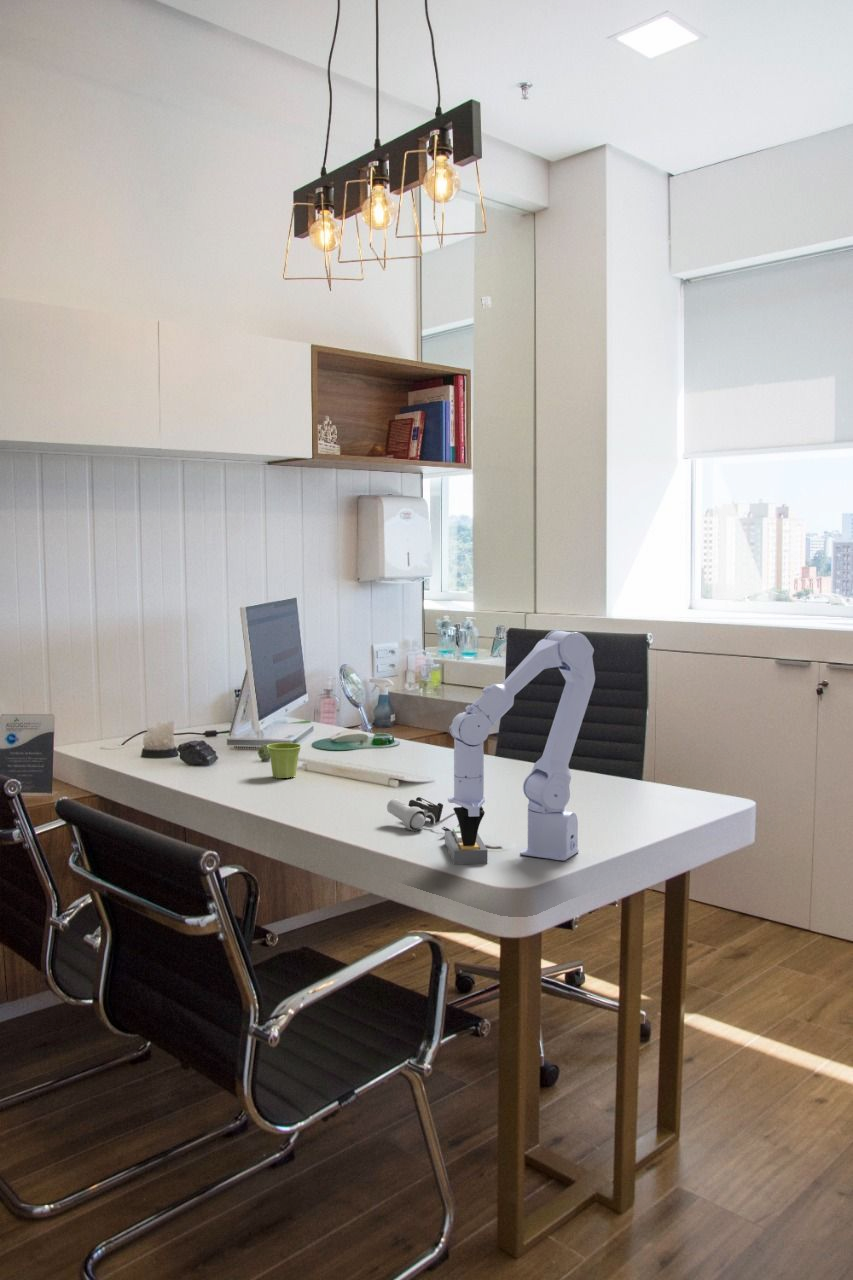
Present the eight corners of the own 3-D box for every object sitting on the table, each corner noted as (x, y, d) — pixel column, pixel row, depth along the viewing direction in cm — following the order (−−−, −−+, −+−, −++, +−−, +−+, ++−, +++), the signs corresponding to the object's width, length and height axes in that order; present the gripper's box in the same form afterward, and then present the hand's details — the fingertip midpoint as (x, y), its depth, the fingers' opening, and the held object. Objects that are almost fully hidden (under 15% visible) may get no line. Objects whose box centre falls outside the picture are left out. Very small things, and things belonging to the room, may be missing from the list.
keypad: (444, 843, 215) (444, 831, 215) (475, 842, 216) (475, 830, 216) (454, 864, 200) (454, 850, 200) (487, 863, 201) (487, 849, 201)
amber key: (459, 851, 205) (459, 842, 204) (476, 851, 205) (476, 842, 205) (461, 856, 201) (461, 847, 201) (478, 856, 201) (478, 846, 201)
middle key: (455, 842, 209) (455, 833, 209) (472, 841, 210) (472, 832, 210) (458, 846, 206) (457, 837, 206) (475, 846, 206) (475, 837, 206)
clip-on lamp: (472, 844, 227) (417, 812, 240) (478, 816, 226) (423, 785, 239) (432, 849, 219) (378, 815, 231) (438, 820, 217) (384, 788, 230)
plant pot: (306, 774, 289) (305, 743, 288) (296, 781, 280) (295, 748, 279) (273, 773, 290) (273, 742, 290) (262, 780, 281) (261, 747, 281)
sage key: (452, 835, 214) (452, 827, 214) (469, 835, 215) (469, 826, 215) (454, 840, 211) (454, 831, 211) (471, 839, 211) (471, 830, 211)
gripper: (443, 768, 209) (443, 836, 210) (452, 783, 194) (452, 855, 195) (479, 768, 209) (478, 835, 210) (490, 782, 195) (490, 854, 196)
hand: (468, 845), depth 203 cm, fingers closed, pressing on amber key
